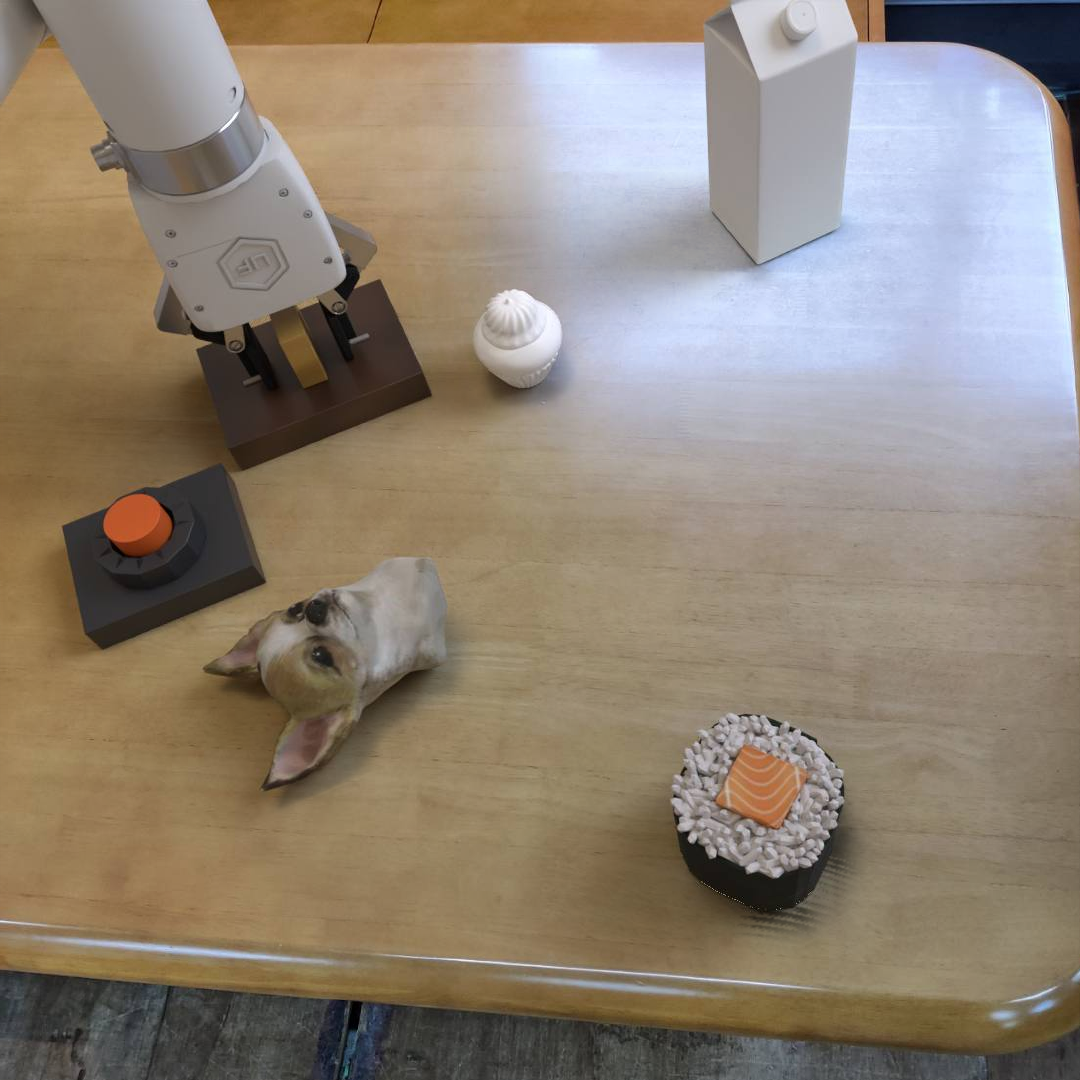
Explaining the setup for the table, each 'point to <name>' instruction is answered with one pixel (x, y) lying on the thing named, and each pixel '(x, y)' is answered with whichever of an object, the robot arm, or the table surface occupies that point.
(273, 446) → the plate
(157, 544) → the bell button
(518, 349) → the muffin
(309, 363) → the lock knob
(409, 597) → the ceramic sculpture
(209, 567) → the push button base
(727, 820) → the sushi
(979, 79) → the table surface
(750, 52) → the milk carton
